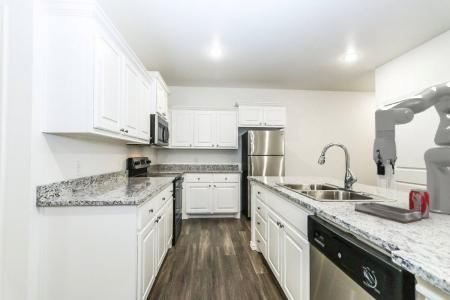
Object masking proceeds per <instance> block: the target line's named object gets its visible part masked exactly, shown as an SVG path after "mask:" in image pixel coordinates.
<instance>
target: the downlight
mask: <svg viewBox="0 0 450 300" xmlns="http://www.w3.org/2000/svg"><path fill="white" fill-rule="evenodd" d="M380 159H382V158H380ZM388 162H390V160H385V162H384V166H385V175H377V174H376V177H375V179H376V180H390V181H391V180H395V178H394V174H393V169H392V165H390V164H388ZM381 163H382V161H381Z"/></svg>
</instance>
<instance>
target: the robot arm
mask: <svg viewBox="0 0 450 300" xmlns="http://www.w3.org/2000/svg"><path fill="white" fill-rule="evenodd" d="M431 107H434V108H435V110H436V112H437V114H438V116H439V124H438V126H437V129H436V131H435V134H434V139H433V142H434V144H435V146H437V147H432V148H428V149H427V150H425V151H424V154H423V160H424V165H425V171H426V172H425V173H426V190H427V193H428V194H429V213H430V212H431V213H436V214H442V215H450V81H448V82H447V81H446V82H443V83H439V84H435V85H431V86H429V87H427V88H426V89H424V90H422V91H420V92H418V93H417V94H415V95H413V96H412V97H409V98H407V99H405V100H403V101H400V102H398V103H396V104H393V105H391V106H389V107H384V108H383V107H382V108H378V109H376V110H375V112H374V128H375V129H374V133H375V135H374V136H375V138H374V139H373V140H374V141H373V148H372V153H373V154H372V159H373V161H374V163H375V165H376V176H377V175H385V166H384V162H385V160H390V162H388V164H390V165H392V169H393V175H395V166H396V161H397V160H398V156H397V143H396V126H399V125H406V124H409V123H411V122H412V121H413V120H414V117H415V115H417V114H420V113H423V112H425V111H427V110H428V109H430V108H431ZM380 158H382V159H380ZM381 161H382V163H381Z"/></svg>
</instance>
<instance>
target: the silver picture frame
mask: <svg viewBox="0 0 450 300" xmlns="http://www.w3.org/2000/svg"><path fill="white" fill-rule="evenodd" d="M354 211H355V212H358V213H362V214H366V215H368V216H369V215H370V216H374V217H377V218H381V219H385V220H389V221H392V222H397V223H401V224H409V223H415V222H420V221H422V219H423V218H422V215H421V212H418V211H413V210H409V208H404V207H398V206H393V205H389V204H383V203H378V202H374V201H373V202H372V201H366V202H357V203H354Z"/></svg>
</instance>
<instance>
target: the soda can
mask: <svg viewBox="0 0 450 300" xmlns="http://www.w3.org/2000/svg"><path fill="white" fill-rule="evenodd" d="M408 210H413V211H418V212H421V215H422V219H427V218H429V216H430V211H429V194H428V193H427V189H419V188H412V189H410V191H409V193H408Z"/></svg>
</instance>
